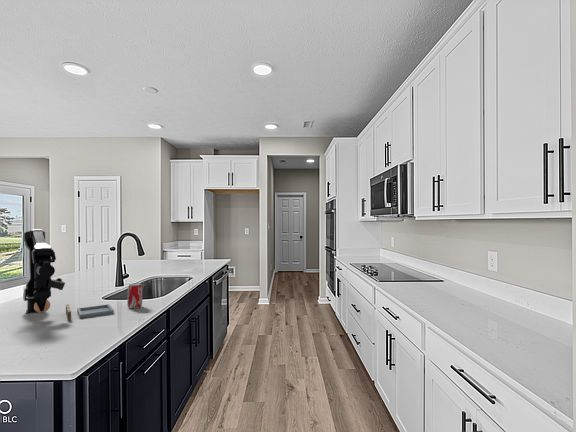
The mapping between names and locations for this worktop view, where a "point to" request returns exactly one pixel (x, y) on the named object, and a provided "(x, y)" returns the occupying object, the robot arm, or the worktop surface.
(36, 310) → the ball
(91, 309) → the dish
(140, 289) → the soda can
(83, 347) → the worktop surface
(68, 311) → the fence
